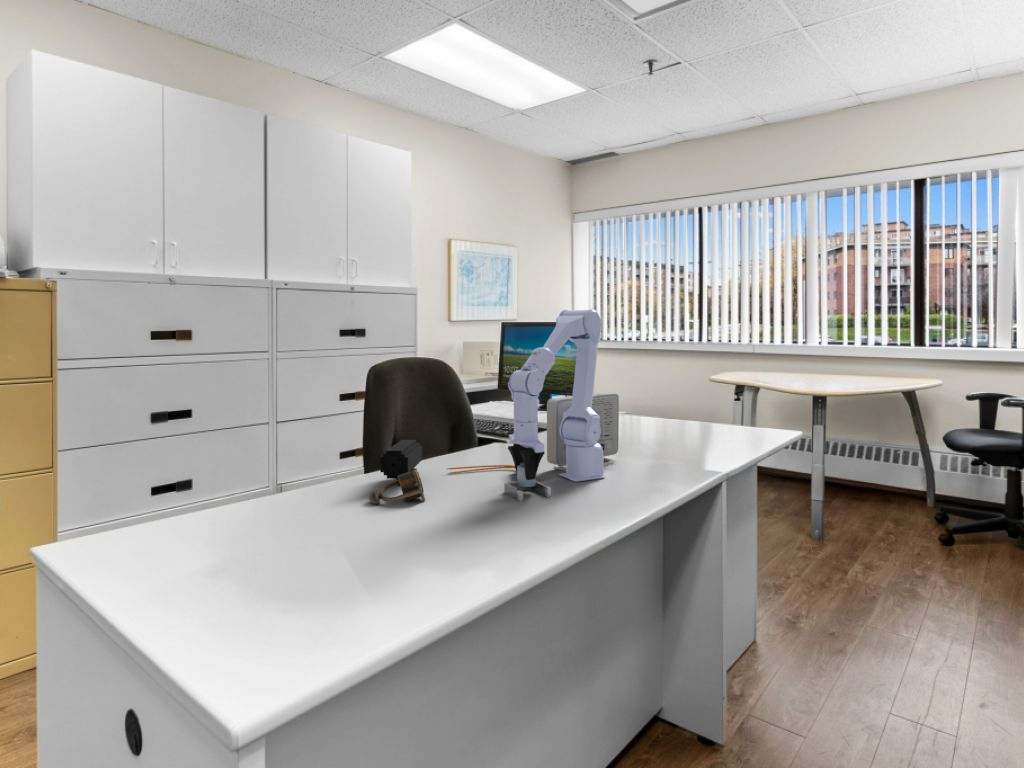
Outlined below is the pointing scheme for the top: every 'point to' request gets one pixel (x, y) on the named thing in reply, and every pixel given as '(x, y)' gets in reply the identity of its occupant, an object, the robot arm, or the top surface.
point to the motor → (481, 469)
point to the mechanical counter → (402, 488)
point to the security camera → (400, 458)
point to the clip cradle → (517, 492)
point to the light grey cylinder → (524, 477)
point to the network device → (601, 404)
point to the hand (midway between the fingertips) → (525, 477)
